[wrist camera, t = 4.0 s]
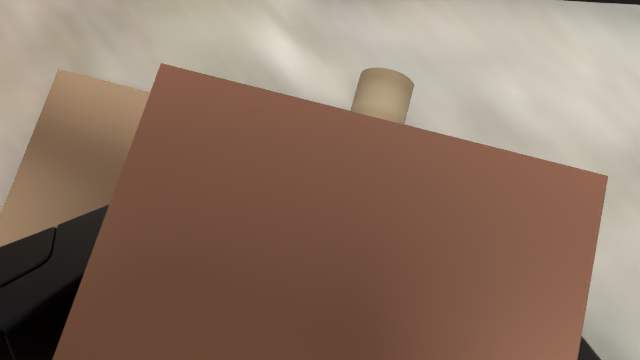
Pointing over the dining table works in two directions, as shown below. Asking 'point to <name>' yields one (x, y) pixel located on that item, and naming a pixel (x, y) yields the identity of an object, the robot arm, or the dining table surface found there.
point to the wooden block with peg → (330, 236)
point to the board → (72, 154)
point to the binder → (612, 1)
